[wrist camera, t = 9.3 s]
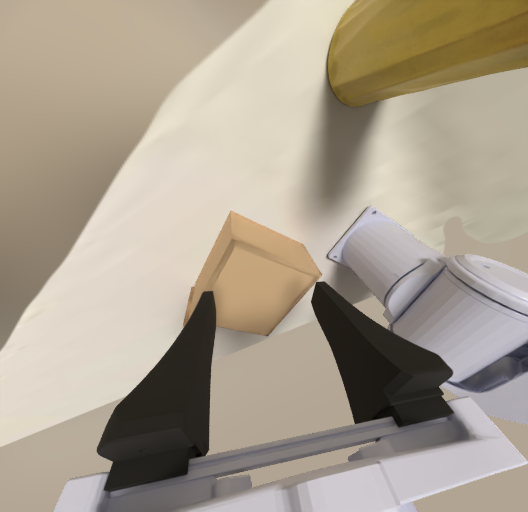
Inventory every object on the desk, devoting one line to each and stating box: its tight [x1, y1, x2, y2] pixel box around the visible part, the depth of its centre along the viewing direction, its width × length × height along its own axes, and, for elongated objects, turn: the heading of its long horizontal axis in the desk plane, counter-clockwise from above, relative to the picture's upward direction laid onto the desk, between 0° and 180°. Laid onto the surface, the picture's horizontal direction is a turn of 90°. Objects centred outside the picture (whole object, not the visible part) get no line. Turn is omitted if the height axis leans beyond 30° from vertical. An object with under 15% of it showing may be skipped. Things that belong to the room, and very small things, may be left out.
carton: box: [188, 211, 322, 336], centre depth 22 cm, size 10×11×6 cm
